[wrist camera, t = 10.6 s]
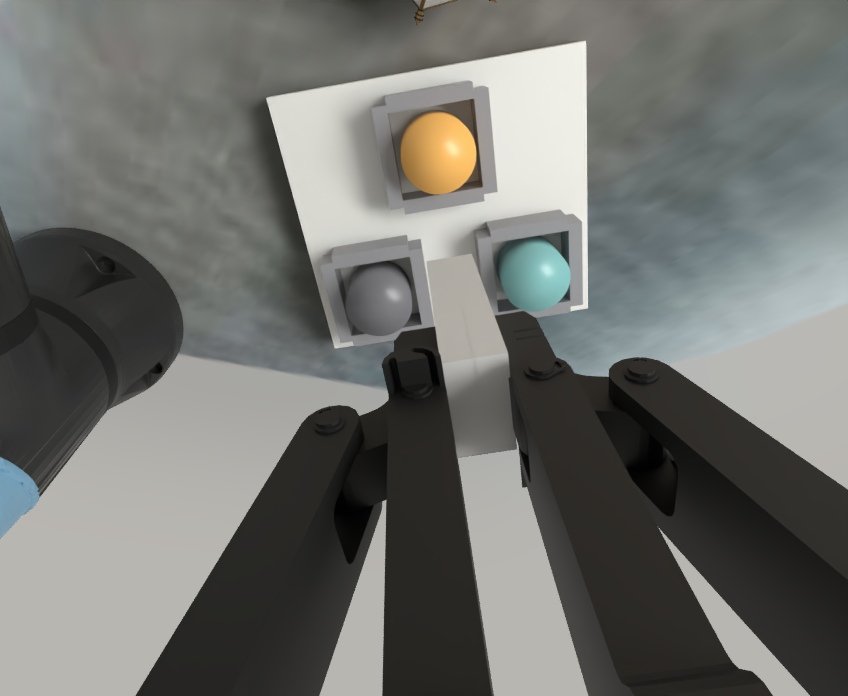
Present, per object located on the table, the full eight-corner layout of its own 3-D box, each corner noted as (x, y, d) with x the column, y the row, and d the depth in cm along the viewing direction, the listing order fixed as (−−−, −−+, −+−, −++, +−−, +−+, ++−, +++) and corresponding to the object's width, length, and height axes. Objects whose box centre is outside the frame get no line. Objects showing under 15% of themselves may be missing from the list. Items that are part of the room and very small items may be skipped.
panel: (337, 337, 48) (331, 361, 44) (272, 95, 38) (258, 100, 35) (580, 298, 47) (596, 320, 44) (577, 41, 38) (597, 40, 34)
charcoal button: (356, 320, 45) (353, 340, 42) (342, 264, 42) (338, 281, 39) (415, 311, 44) (416, 330, 41) (405, 254, 42) (405, 270, 39)
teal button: (499, 298, 44) (506, 316, 41) (493, 240, 42) (501, 254, 39) (559, 288, 44) (571, 305, 41) (557, 229, 42) (569, 243, 39)
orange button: (406, 188, 40) (407, 200, 37) (394, 116, 37) (394, 122, 34) (473, 177, 39) (480, 187, 36) (465, 103, 37) (471, 108, 34)
